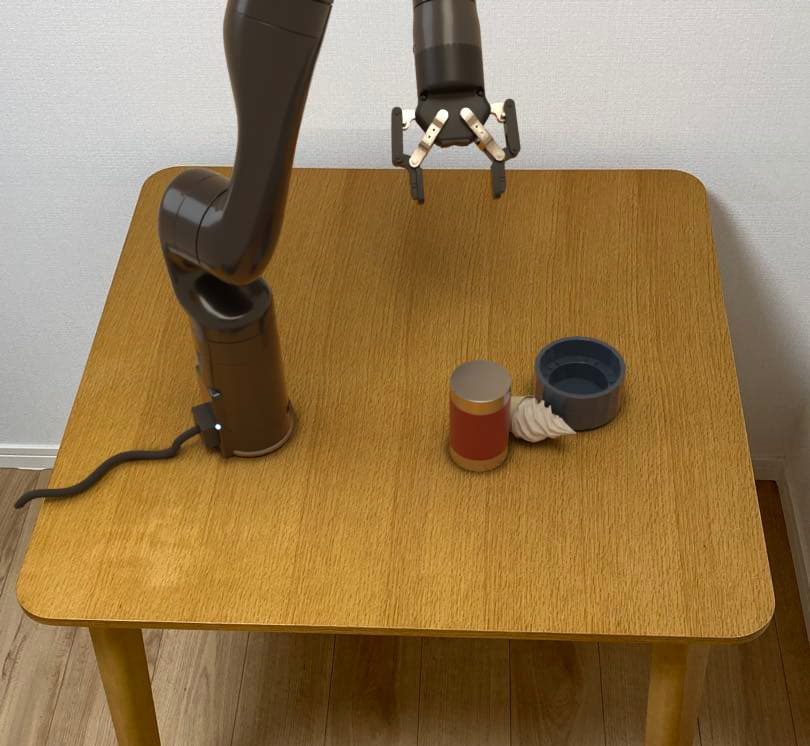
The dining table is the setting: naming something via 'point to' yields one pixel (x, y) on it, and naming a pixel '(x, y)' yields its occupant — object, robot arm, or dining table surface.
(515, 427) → the ice cream cone
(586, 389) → the bowl
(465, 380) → the tin can
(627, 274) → the dining table surface
